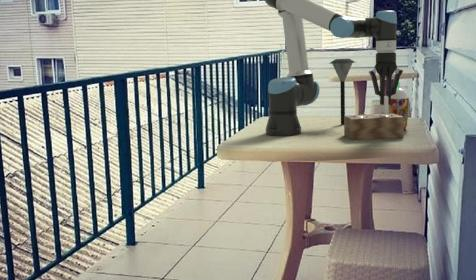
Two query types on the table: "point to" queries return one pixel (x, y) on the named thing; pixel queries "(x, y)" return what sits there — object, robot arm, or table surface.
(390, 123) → the block
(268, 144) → the table surface
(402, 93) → the smoothie
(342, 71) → the solar garden light
